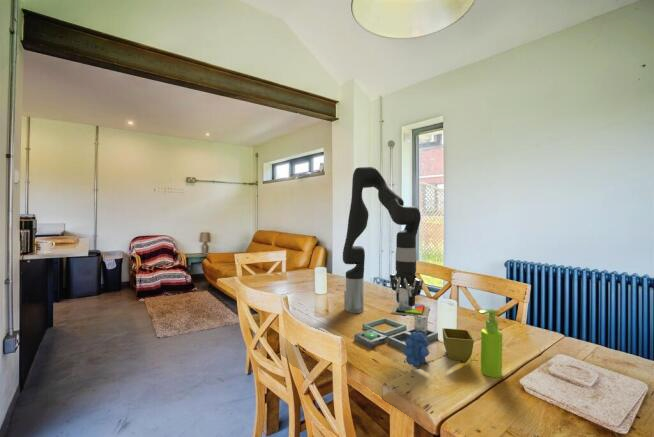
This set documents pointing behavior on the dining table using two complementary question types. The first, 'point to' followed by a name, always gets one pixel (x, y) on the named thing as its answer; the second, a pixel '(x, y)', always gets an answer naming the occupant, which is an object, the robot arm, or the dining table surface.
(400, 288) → the cylinder
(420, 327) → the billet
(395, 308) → the wooden puzzle
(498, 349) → the soap dispenser
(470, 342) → the flower pot
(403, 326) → the tray
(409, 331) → the tray
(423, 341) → the grapes
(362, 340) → the grey button housing
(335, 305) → the dining table surface
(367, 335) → the button
